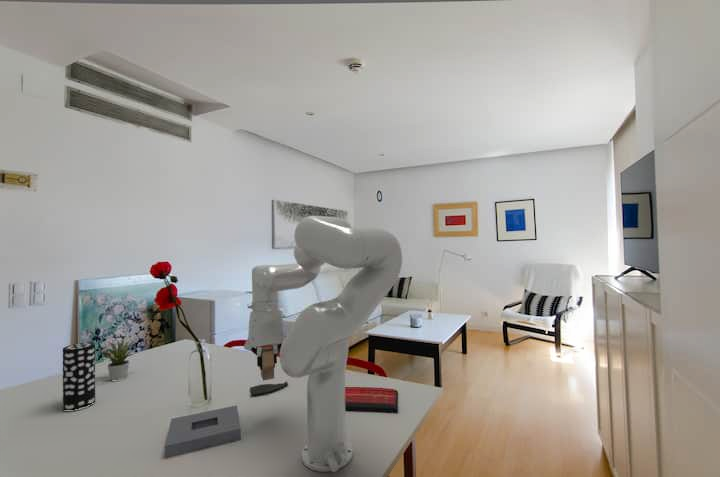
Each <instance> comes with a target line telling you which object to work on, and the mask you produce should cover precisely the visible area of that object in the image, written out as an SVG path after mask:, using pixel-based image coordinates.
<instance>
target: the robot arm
mask: <svg viewBox="0 0 720 477" xmlns="http://www.w3.org/2000/svg"><path fill="white" fill-rule="evenodd" d="M294 242H295V246H294V249H293V256H294V260H295V261H296V263H287V264H276V265H275V264H273V265H272V264H271V265H269V264H267V265H265V264H264V265H256V266H253V267H252V270H251V290H252V292H251V295H252V300H251V303H247V306H246V307H247V309H250V310H251V311H250V313H249V320H248V321H249V322H248V337H247V339H246V341H245V343H244V346H243V348H244V350H246V351H249V352H252V354H254V355H256V360H257V362H256V365H257V367H259V369H260V371H261V370H262V353H261V348H263V347H269V346H271V348H272V350H273V351H274V369H275V368H276V365H277V364H278V358H277V356H278V355H277V354H278V353H279V363H280V367H281V369H282V371H283V372H284V373H285V374H286V375H287V376H289V377H291V378H295V379H296V378H297V379H299V378H303V377H306V376H308V378H307V385H306V406H307V407H306V408H307V409H306V410H307V411H306V414H307V415H306V416H307V444H306V445H305V446H304V447H303V448H302V450H301V460H302V463H303V464H304V465H305V466H306V467H307V469H309V470H310V469H311V470H312V471H315V472H322V473H323V472H324V473H325V472H333V473H336V472H337V471H339V470H340V469H342V468H343V467H345V466H346V465H348V463H349V462H351V460H352V458H353V454H354V453H353V452H354V449H353V446H352V444H351V443H350V441H348V440H347V413H346V412H347V411H346V404H345V387H346V369H347V362H348V355H349V339H352V338H353V337H355V336H356V335H357V334H358V333H359V332H360V331H361V329H362V328H363V326H364V325H365V324H366V322H367V321H368V320H369V319H370V317H371V316H372V314H373V313H374V312H375V311H376V308H377V307H378V306H379V305H380V303H381V302H382V301H383V299H384V298H385V297H386V296H387V294H388V293H389V292H390V291H391V289H392V288H393V286H395V284H396V282H397V280H398V278H399V276H400V273H401V270H402V265H403V253H402V248H401V245H400V243H399V240H398V239H397V237H396V236H395V235H394V234H393V233H391V232H389V231H387V230H386V229H381V228H377V227H376V228H374V227H352V226H351V224H350V223H349V222H348V221H347V220H345V219H344V218H341V217H338V216H337V217H336V216H323V215H310V216H306V217H304V218H302V219H301V220H300V221H299V222H298V224H297V225H296V228H295V229H294ZM325 264H328V265H330V266H332V267H334V268H338V269H345V270H347V269H348V270H350V269H359V268H361V269H360V270H359V271H358V272H357V273H356V274H355V275H354V276H352V277H351V278H350V279H349V280H348V282H347V283H346V284H345V285H344V286H345V287H344V288H343V289H342V290H341V292H340V293H339V295H337V296H336V297H335V298H332V299H329V300H325V301H319V302H316V303H312V304H310V305H308V306H307V307H306V308H304V309H303V310H302V311H301V312H300V313H299V315H298V316H297V318H296V320H295V321H294V323H293V324H292V326H291V328H290V329H289V331H288V332H287V334H286V333H285V326H284V317H283V312H282V309H281V308H279V292H283V291H289V290H297V289H300V288H303V287H305V286H307V285H308V284H310V283H312V282H313V281H314V280H315V279H317V277H318V276H319V274H320V272H321V267H322V266H323V265H325Z"/></svg>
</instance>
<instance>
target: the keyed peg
mask: <svg viewBox="0 0 720 477" xmlns="http://www.w3.org/2000/svg"><path fill="white" fill-rule="evenodd" d="M261 353H262V370H260V376H261V378H262V381H263V382H264V381H269V380H272V379H275V368H274V351H273V350H272V346H265V347H261Z"/></svg>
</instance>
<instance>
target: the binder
mask: <svg viewBox="0 0 720 477" xmlns="http://www.w3.org/2000/svg"><path fill="white" fill-rule="evenodd" d="M398 396H399V393H398V390H397V389H394V388H383V387H372V386H371V387H368V386H366V387H364V386H363V387H361V386H345V404H346V412H355V413H357V412H358V413H382V414H385V413H386V414H398V411H399V409H398V401H399V400H398Z"/></svg>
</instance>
